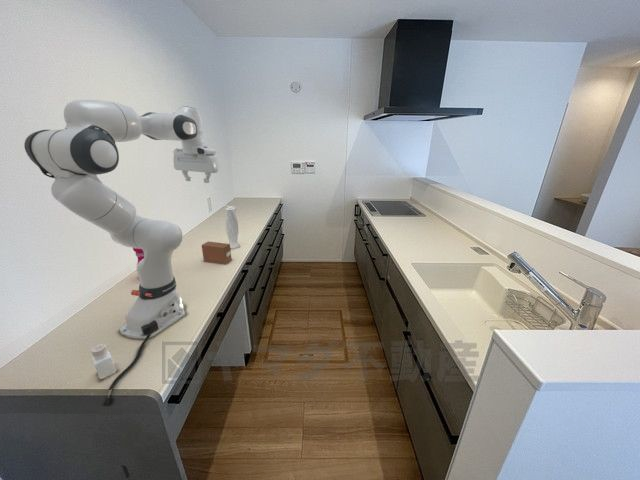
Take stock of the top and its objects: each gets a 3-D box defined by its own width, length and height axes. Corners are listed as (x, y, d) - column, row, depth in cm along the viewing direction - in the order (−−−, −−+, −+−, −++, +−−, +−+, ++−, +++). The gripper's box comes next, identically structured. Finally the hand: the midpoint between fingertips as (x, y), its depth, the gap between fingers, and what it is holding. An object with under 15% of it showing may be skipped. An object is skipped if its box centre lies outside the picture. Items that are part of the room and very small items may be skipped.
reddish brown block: (226, 264, 147) (224, 248, 143) (203, 261, 150) (201, 245, 146) (232, 260, 152) (230, 244, 149) (210, 257, 155) (208, 241, 152)
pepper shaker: (100, 380, 76) (90, 355, 72) (97, 373, 78) (88, 348, 75) (117, 372, 79) (108, 347, 75) (113, 365, 81) (105, 340, 78)
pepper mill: (147, 280, 128) (138, 242, 121) (134, 278, 129) (125, 241, 122) (158, 273, 135) (151, 237, 128) (146, 272, 136) (138, 236, 129)
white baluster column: (230, 250, 166) (225, 206, 156) (225, 246, 171) (220, 204, 161) (241, 247, 171) (238, 205, 160) (236, 243, 176) (233, 202, 166)
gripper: (167, 147, 112) (172, 180, 116) (209, 150, 107) (212, 184, 112) (178, 147, 117) (182, 179, 122) (218, 150, 113) (221, 182, 118)
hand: (197, 181), depth 117 cm, fingers open, 8 cm apart
